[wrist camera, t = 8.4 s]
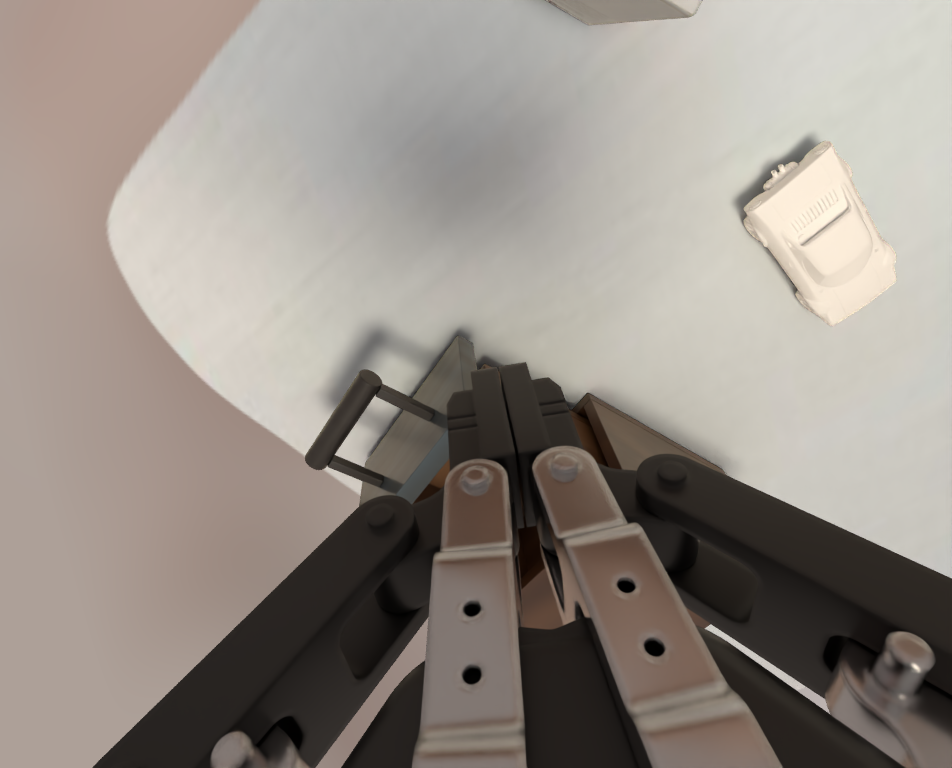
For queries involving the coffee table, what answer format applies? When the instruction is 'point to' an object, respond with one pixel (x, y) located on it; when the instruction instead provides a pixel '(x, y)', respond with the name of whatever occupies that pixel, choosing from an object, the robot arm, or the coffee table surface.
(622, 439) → the cabinet
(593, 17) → the cosmetic box
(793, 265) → the toy car
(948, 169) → the coffee table surface
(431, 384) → the drawer
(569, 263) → the coffee table surface
